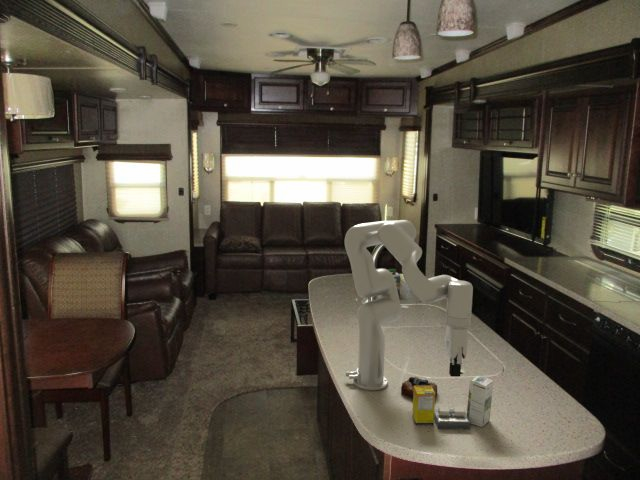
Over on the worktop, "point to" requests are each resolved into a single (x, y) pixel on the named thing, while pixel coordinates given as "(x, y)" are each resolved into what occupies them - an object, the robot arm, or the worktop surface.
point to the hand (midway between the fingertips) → (454, 375)
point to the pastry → (415, 381)
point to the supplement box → (423, 405)
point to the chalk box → (396, 279)
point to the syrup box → (479, 400)
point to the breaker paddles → (445, 411)
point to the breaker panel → (451, 421)
